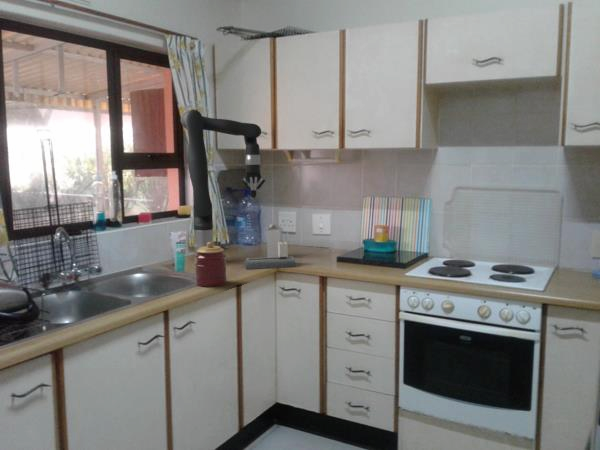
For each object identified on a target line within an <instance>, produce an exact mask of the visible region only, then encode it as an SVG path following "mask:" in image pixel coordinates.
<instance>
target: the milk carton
mask: <svg viewBox="0 0 600 450" xmlns="http://www.w3.org/2000/svg"><path fill="white" fill-rule="evenodd" d="M268 227H269V228H268V229H267V235H266V236H267V237H266V239H267V241H266V242H267V243H266V244H267V247H266V248H267V257H279V256H278V242H284V241H283V240H284V239H283V228H282V227H281V226H280V225H279V224H278V223H277V220H275V221H274V222H273V223H270V224H269V225H268Z"/></svg>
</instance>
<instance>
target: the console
mask: <svg viewBox="0 0 600 450" xmlns="http://www.w3.org/2000/svg"><path fill="white" fill-rule="evenodd" d="M295 260H296V258H295V257H293V255H292V256H291V255H290V256H288V257H286V259H280V257H268V256H267V257H250V258H249V257H247V258H245V260H243V266H244V268H245V270H260V269H262V270H263V269H281V268H283V269H285V268H296V267H297V262H296V261H295Z"/></svg>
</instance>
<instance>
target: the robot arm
mask: <svg viewBox="0 0 600 450" xmlns="http://www.w3.org/2000/svg"><path fill="white" fill-rule="evenodd" d="M180 123H181V125H182V127H183V128H185V129H186V130H187V132H186V133H187V137H188V145H187V147H188V148H187V157H186V158H187V165H188V173H189V177H190V178H189V179H190V182H191V185H192V193H193V194H192V195H193V197H192V198H193V204H192V205H193V206H192V209H193V237H194V238H193V239H194V241H193V243H194V256H195V255H197V253H198V252H197V250H198V249H199V248H200V247H203V246H207V243H208V242H212V243H213V244H214V224H213V223H214V221H213V203H212V200H211V196H210V191H209V167H208V166H209V165H208V159H207V152H206V145H205V138H204V136H205V135H204V131H211V132H216V133H221V134H225V135H232V136H237V137H238V136H242V137H243V138H244V139H243V140H244V145H245V162H244V163H245V175H244V177H243V178H241V180H240V181H241V183H242V184H243V185H244V187H245V188H246V189H247V190H249V191H250V192H249V193H250V197H251V198H253V199H254V198H256V197H257V190H260V189H261V187H262V186H263V184H264V183H265V182H266V179H264V178H263V177H262V175H261V156H260V152H261V151H260V144H258V140H257V138H259V137H260V136H261V134H262V129H261V127H260V125H258V124H255V123H251V122H242V121H237V120H232V119H224V118H212V117H207V116H205V115H204V116H203V115H202V113H201V112H200V111H199V110H197V109H190V110H186V111H184V113H183V114H182V115H181V117H180ZM247 183H248V184H249V185H248V184H247ZM195 263H196V258H195V257H194V264H195Z"/></svg>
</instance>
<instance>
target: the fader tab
mask: <svg viewBox="0 0 600 450" xmlns="http://www.w3.org/2000/svg"><path fill="white" fill-rule="evenodd" d="M278 256H279V257H280V259H286V257H289V243H288V242H286V241H283V242H278Z"/></svg>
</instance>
